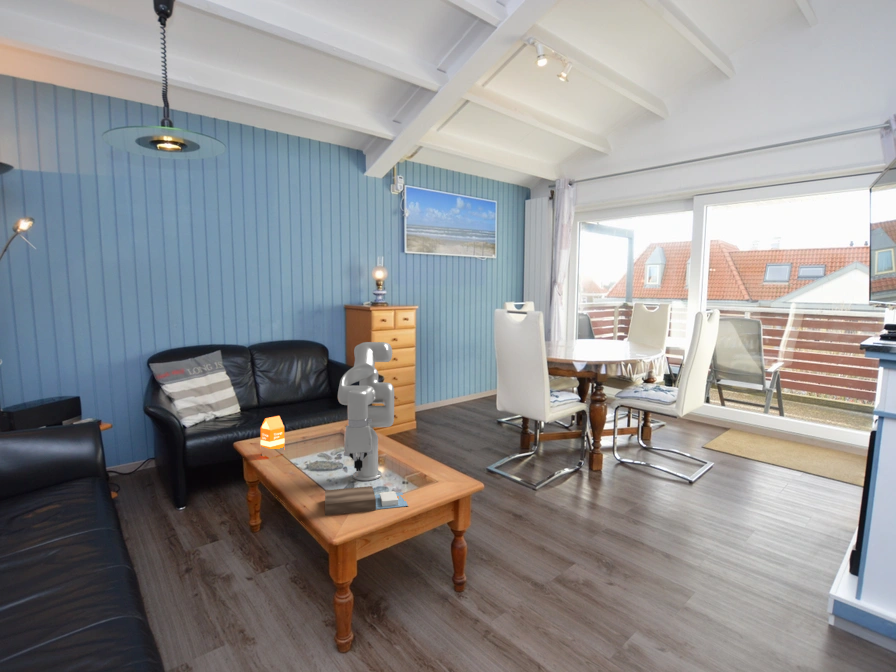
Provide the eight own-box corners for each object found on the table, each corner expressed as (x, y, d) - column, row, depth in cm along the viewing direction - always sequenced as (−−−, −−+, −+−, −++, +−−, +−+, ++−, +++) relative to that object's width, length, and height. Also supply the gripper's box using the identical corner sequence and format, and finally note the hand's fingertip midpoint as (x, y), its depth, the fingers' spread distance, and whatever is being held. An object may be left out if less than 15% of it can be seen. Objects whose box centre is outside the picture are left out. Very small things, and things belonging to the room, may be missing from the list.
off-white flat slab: (395, 491, 180) (395, 496, 180) (379, 492, 178) (379, 497, 178) (398, 499, 171) (398, 505, 171) (382, 501, 169) (382, 506, 169)
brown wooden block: (325, 500, 176) (325, 490, 176) (372, 496, 180) (372, 486, 180) (325, 515, 162) (324, 504, 162) (375, 510, 167) (375, 499, 167)
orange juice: (284, 454, 237) (284, 416, 236) (270, 458, 229) (269, 419, 228) (275, 452, 241) (274, 414, 240) (260, 456, 233) (260, 417, 233)
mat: (372, 495, 181) (372, 494, 181) (402, 492, 184) (402, 492, 184) (375, 509, 167) (375, 508, 167) (407, 506, 170) (407, 505, 170)
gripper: (376, 418, 177) (377, 464, 179) (337, 421, 173) (337, 468, 175) (378, 424, 170) (379, 471, 171) (337, 426, 166) (338, 475, 168)
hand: (358, 469), depth 173 cm, fingers closed
